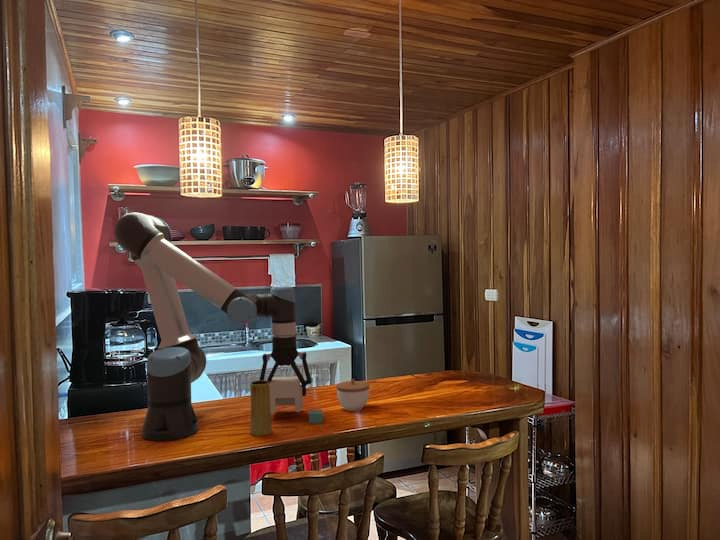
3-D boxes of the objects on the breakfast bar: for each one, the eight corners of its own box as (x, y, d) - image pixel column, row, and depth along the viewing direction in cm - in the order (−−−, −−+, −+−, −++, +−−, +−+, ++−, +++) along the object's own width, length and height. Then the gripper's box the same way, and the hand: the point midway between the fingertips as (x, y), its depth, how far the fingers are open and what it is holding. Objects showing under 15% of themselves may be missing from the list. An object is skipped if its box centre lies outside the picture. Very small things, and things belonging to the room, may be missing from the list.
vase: (246, 435, 143) (245, 384, 143) (254, 428, 149) (253, 379, 149) (268, 436, 142) (267, 385, 142) (274, 429, 148) (273, 380, 148)
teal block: (308, 420, 157) (308, 410, 157) (321, 419, 157) (321, 409, 157) (309, 424, 153) (309, 414, 153) (323, 423, 154) (322, 413, 153)
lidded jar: (366, 413, 162) (365, 384, 162) (333, 412, 164) (332, 383, 164) (372, 404, 172) (371, 376, 172) (341, 403, 174) (340, 375, 174)
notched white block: (272, 405, 166) (272, 377, 166) (300, 403, 167) (300, 376, 167) (270, 413, 157) (269, 383, 157) (300, 411, 158) (299, 382, 158)
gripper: (318, 332, 166) (320, 402, 167) (250, 335, 164) (252, 405, 165) (318, 336, 159) (320, 408, 159) (247, 338, 157) (249, 412, 157)
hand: (286, 406), depth 162 cm, fingers closed on notched white block, 9 cm apart
